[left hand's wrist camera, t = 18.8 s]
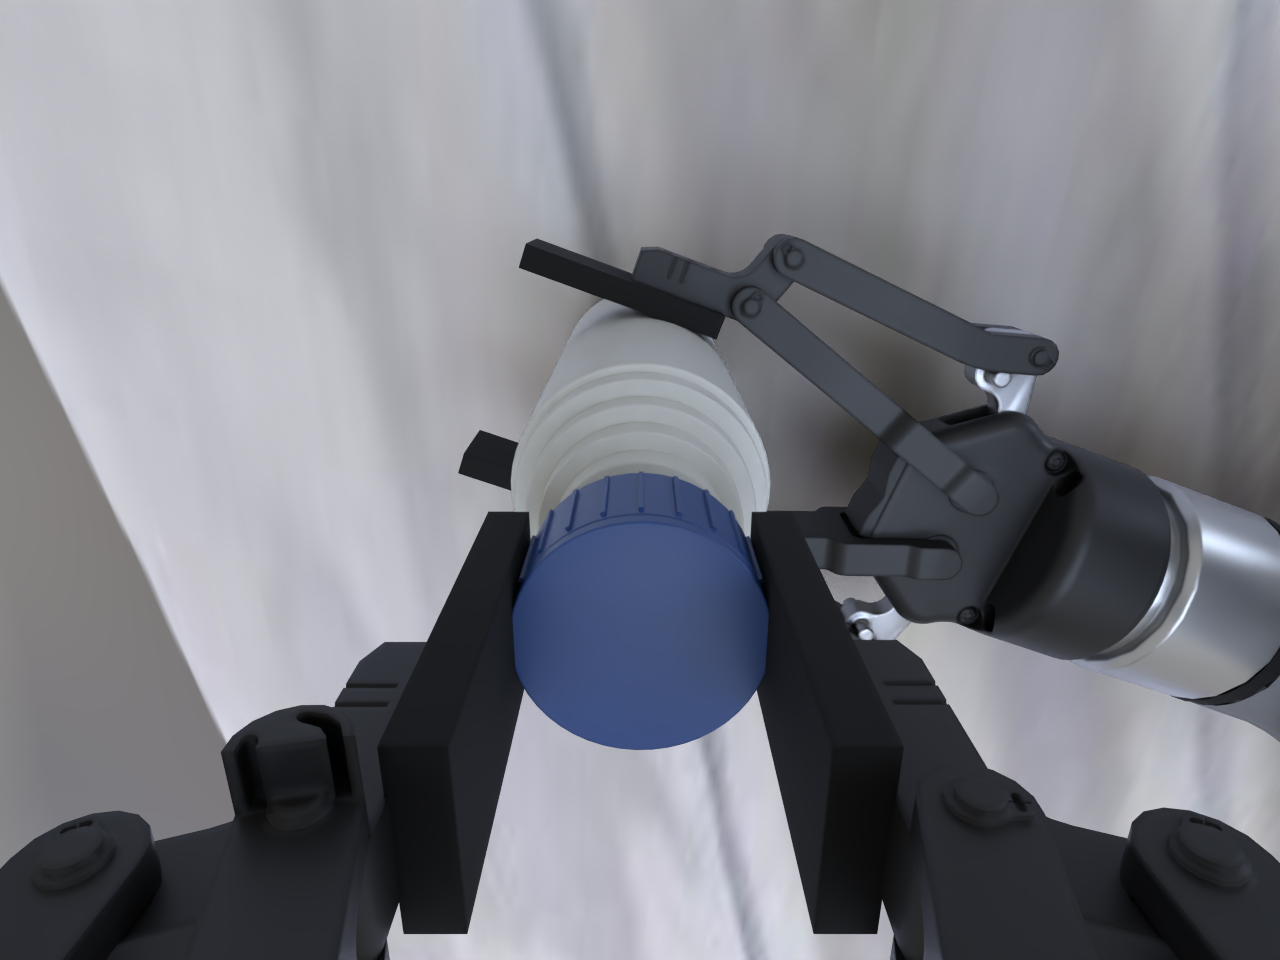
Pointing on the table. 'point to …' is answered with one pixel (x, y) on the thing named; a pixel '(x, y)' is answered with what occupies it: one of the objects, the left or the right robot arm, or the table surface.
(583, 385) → the bottle
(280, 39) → the table surface
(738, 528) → the cap
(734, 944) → the table surface
